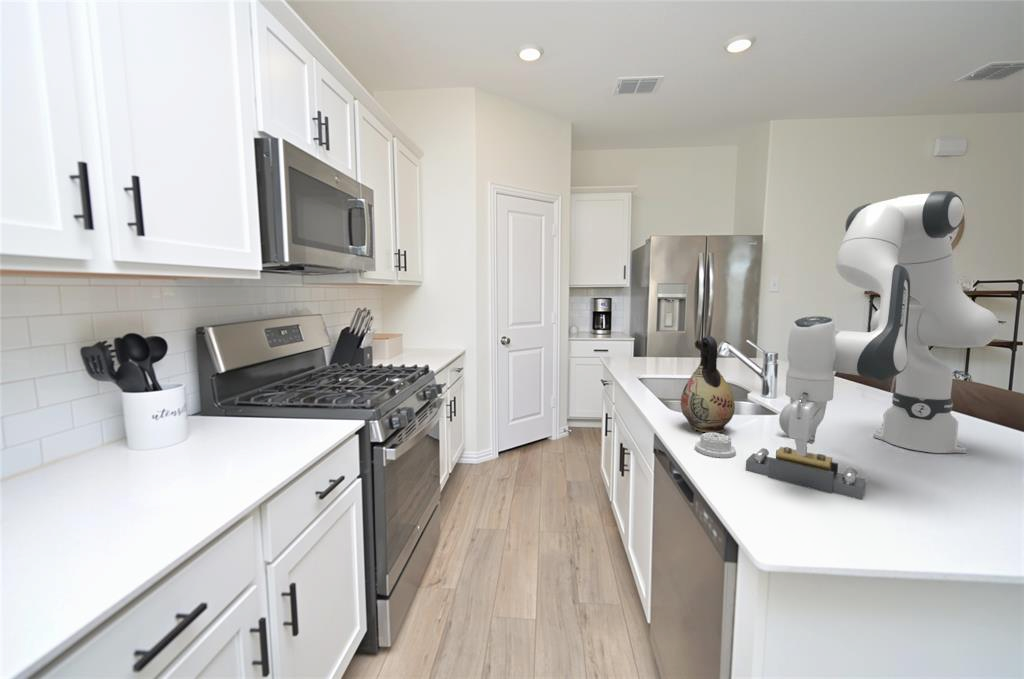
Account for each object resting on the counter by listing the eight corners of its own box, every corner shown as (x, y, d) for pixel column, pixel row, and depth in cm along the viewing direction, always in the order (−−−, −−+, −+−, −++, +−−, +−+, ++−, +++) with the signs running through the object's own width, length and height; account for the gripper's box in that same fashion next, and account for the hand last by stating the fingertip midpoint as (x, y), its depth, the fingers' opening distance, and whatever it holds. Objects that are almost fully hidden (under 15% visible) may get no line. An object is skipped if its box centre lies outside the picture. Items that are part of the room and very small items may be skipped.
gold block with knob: (779, 460, 103) (780, 444, 102) (831, 472, 96) (832, 454, 95) (775, 465, 100) (776, 448, 99) (828, 478, 93) (829, 460, 93)
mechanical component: (699, 457, 112) (740, 460, 110) (700, 441, 112) (741, 443, 110) (691, 444, 122) (729, 446, 120) (692, 429, 121) (730, 431, 119)
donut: (800, 431, 131) (802, 400, 130) (811, 435, 128) (813, 402, 127) (775, 435, 128) (777, 402, 127) (785, 439, 125) (787, 405, 124)
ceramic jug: (674, 421, 143) (677, 332, 140) (723, 422, 141) (727, 332, 137) (688, 438, 126) (692, 337, 123) (743, 440, 124) (749, 338, 121)
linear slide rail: (753, 461, 108) (754, 444, 108) (865, 488, 93) (866, 469, 93) (744, 471, 103) (745, 453, 103) (861, 501, 88) (863, 480, 87)
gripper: (817, 401, 86) (813, 466, 88) (833, 383, 101) (829, 439, 103) (781, 396, 91) (778, 458, 92) (801, 379, 105) (798, 433, 107)
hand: (805, 448), depth 98 cm, fingers open, 8 cm apart
